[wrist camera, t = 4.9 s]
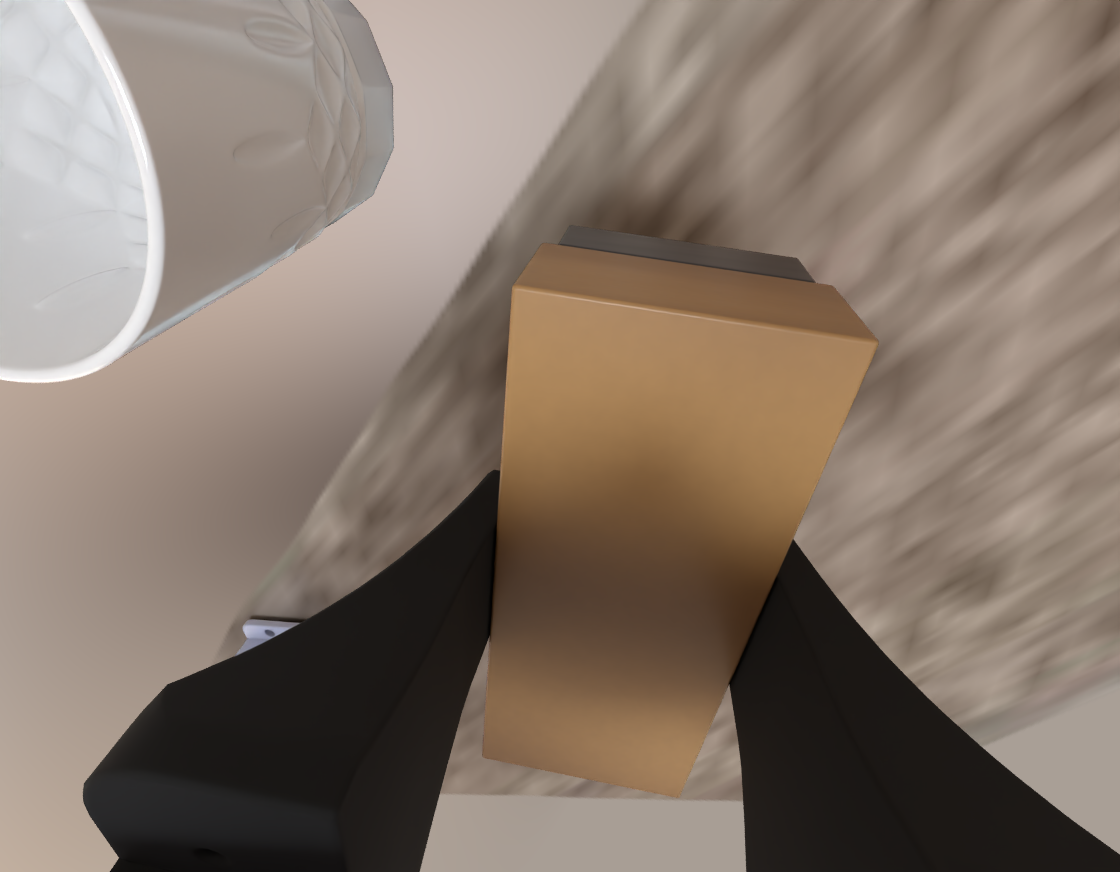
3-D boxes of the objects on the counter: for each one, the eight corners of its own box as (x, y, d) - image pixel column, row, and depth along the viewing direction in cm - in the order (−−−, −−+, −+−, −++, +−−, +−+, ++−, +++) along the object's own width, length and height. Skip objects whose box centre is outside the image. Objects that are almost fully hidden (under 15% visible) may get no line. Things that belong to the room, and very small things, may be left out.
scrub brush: (675, 661, 16) (679, 799, 13) (514, 630, 16) (481, 758, 13) (814, 259, 10) (882, 341, 7) (554, 221, 10) (510, 284, 7)
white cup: (417, 262, 18) (209, 424, 10) (178, 218, 19) (-220, 337, 10) (418, -63, 14) (51, -273, 5) (108, -113, 14) (-680, -380, 6)
